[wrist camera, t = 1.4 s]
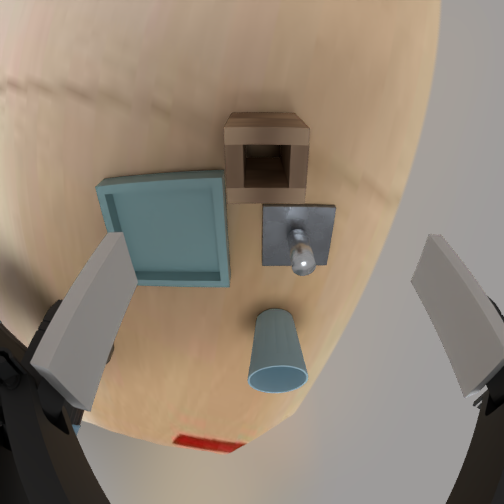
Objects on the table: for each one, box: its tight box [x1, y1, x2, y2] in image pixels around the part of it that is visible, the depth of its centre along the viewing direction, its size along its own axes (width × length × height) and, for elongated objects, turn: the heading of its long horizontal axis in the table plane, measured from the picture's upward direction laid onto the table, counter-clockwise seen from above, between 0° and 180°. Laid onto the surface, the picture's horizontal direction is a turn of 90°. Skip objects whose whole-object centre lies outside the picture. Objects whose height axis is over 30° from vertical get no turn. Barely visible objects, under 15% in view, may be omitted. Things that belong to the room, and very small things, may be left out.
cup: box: [248, 309, 308, 393], centre depth 37 cm, size 8×8×10 cm
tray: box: [95, 170, 231, 287], centre depth 32 cm, size 14×14×2 cm
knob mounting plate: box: [262, 204, 336, 276], centre depth 30 cm, size 8×8×6 cm
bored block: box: [224, 112, 310, 204], centre depth 23 cm, size 6×6×8 cm
